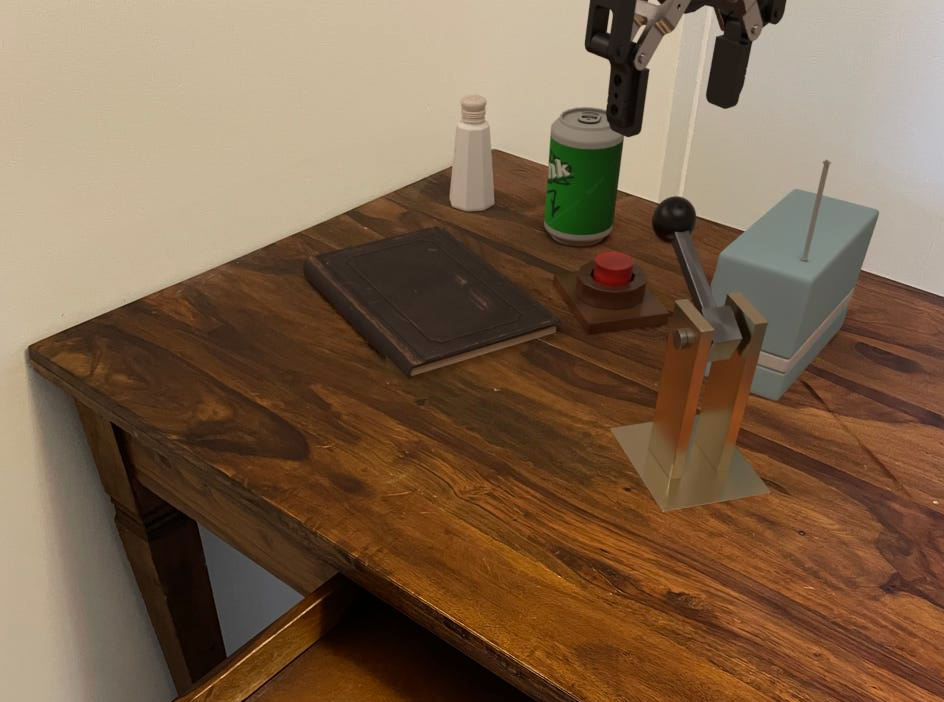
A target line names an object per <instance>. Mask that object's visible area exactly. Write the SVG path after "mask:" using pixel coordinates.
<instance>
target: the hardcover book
mask: <svg viewBox="0 0 944 702" xmlns="http://www.w3.org/2000/svg"><path fill="white" fill-rule="evenodd" d="M302 265H303V266H302V268H303V269H302V270H303V275H304V277H305V278H306V279H307V280H308V281H309V282H310V283H311V284H312V285H313V286H314V287H315V288H316V289H317V290H318V291H319V293H321V294H322V295H323V297H325V299H326V300H327V301H329V303H330V304H331V305H332V306H333V307H334V308H335V309H336V310H337V311H338V312H339V314H341V315H342V316H343V317H344V318H345V319H346V320H347V322H349V323H350V325H352V327H353V328H355V330H356V331H358V333H359V334H360V335H361V336H362V337H363V338H364V339H365V340H366V342H368V343H369V344H370V346H372V348H374V349H375V350H376V351H377V352H378V353H379V354H380V356H382V357H383V358H384V359H385V361H388V359H389V360H390V361H391V362H392V363H393V364H394V365H395V366H396V367H397V368H398V370H399V371H400V372H402V374H403V375H404V376H405V377H406V378H407V379H408V380H412V377H413V376H416V375H421V374H423V373H427V372H430V371H434V370H436V369H440V368H443V367H447V366H451V365H453V364H456V363H460V362H463V361H466V360H469V359H472V358H476V357H479V356H483V355H486V354H489V353H492V352H496V351H499V350H502V349H506V348H509V347H512V346H516V345H519V344H522V343H526V342H529V341H531V340H536V339H539V338H542V337H547V336H548V335H552V334H555V333H556V332H557V326H560V325H563V320H561V319H560V317H557V316H556V315H555V314H554V313H552V311H550V310H549V309H547V308H546V307H545V306H544V305H542V304H541V303H540V302H539V301H537V300H536V299H535V298H534V297H532V296H531V295H529V293H527V291H525V290H523V289H522V288H520V287H519V285H517V284H516V283H515V282H513V281H512V280H511V279H510V278H508V276H506V275H504V274H503V273H502V272H500V271H499V270H498V269H497V268H495V267H494V266H493V265H492V264H491V263H489V262H488V261H487V260H485V259H484V258H483V257H482V256H480V255H479V254H478V253H477V252H475V251H474V250H472V248H470V247H469V246H468V245H467V244H465V243H464V242H462V241H461V240H460V239H459V238H458V237H456V236H455V235H454V234H453V233H451V232H450V231H449V230H447V229H446V228H445V227H444V226H442V224H438V225H434V226H431V227H427V228H423V229H418V230H414V231H410V232H406V233H402V234H397V235H393V236H389V237H385V238H381V239H376V240H373V241H369V242H365V243H364V242H363V243H361V244H356V245H352V246H348V247H344V248H339V249H336V250H332V251H327V252H323V253H319V254H315V255H310V256H308V257H306V258H305V259H304V261H303V263H302ZM387 358H388V359H387Z"/></svg>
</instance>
